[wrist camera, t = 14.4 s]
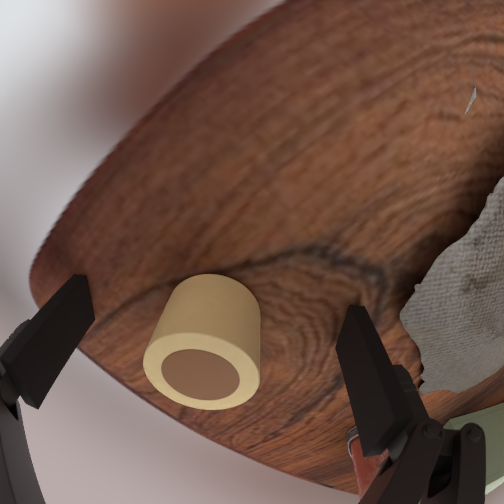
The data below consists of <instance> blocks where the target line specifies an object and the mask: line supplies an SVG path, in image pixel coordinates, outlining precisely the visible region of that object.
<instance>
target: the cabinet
mask: <svg viewBox="0 0 504 504" xmlns="http://www.w3.org/2000/svg"><path fill="white" fill-rule="evenodd" d="M467 423H476V424H478V425H479V426H480V427H482V429H483V431H484V433H485V438H486V489H485V495H486V494H487V493H489V492H490V491H492V490H493V489H495V488H496V487H497V486H499V485H500V484H502V483H503V482H504V402H503V403H500V404H498V405H495V406H492V407H489V408H486V409H483V410H480V411H476V412H473V413H470V414H466V415H463V416H459V417H455V418H451V419H449V421H448V422H447V423H446V424H445V425H444V426H443V428H444V429H454V430H460V429H461V428H462V427H463V426H464V425H465V424H467ZM419 504H420V502H419Z"/></svg>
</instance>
